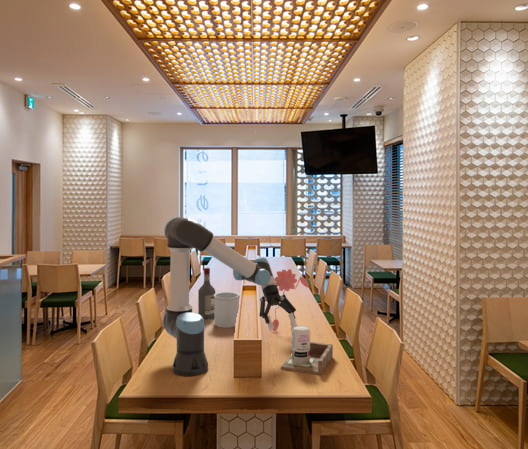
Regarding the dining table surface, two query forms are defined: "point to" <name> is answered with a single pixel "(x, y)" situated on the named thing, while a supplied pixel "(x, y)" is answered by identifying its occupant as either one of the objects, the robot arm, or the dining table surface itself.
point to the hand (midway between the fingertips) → (283, 328)
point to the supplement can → (300, 345)
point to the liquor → (206, 297)
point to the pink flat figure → (286, 286)
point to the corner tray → (313, 359)
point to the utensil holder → (226, 309)
